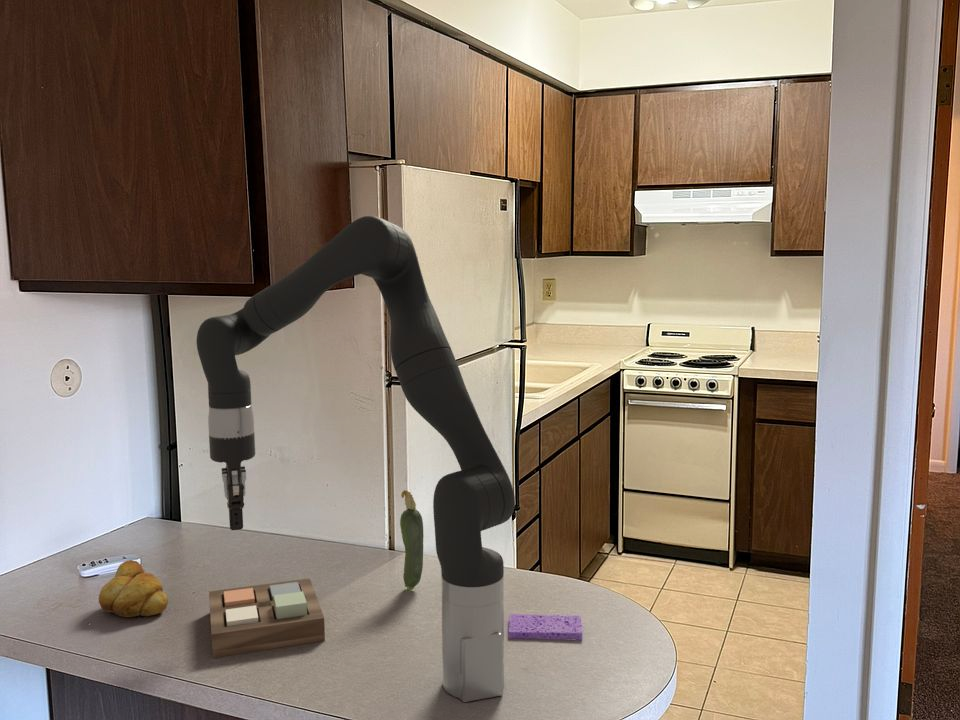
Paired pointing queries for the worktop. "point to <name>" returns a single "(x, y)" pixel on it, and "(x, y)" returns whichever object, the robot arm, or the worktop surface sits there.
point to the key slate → (283, 589)
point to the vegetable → (412, 541)
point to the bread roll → (133, 592)
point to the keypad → (264, 623)
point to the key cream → (241, 615)
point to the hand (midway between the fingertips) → (236, 528)
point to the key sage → (290, 605)
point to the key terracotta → (239, 597)
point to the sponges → (545, 626)
